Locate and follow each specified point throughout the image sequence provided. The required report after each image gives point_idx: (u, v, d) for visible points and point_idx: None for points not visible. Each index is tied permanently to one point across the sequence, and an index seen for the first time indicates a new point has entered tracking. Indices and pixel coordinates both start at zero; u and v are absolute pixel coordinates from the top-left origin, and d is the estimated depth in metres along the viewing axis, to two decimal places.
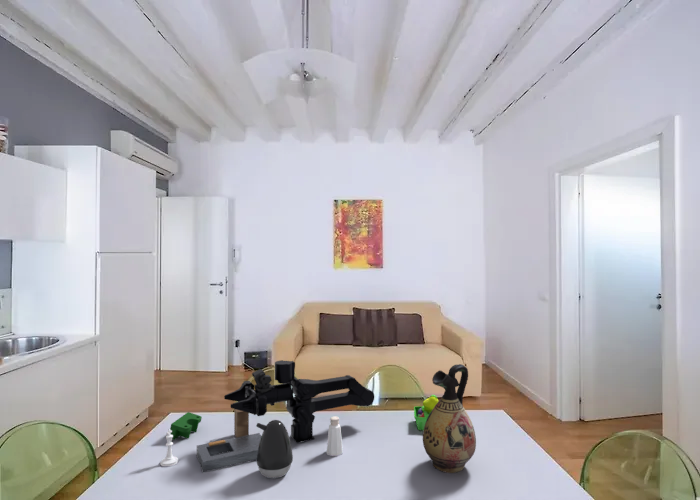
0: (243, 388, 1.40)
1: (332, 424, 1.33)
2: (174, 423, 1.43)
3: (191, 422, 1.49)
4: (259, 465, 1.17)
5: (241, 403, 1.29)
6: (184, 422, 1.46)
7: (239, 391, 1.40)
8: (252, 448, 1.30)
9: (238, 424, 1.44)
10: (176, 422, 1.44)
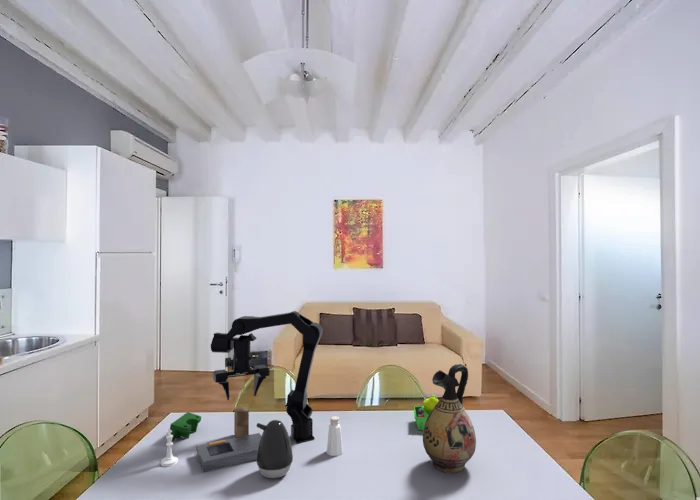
0: (254, 376, 1.51)
1: (332, 424, 1.33)
2: (174, 423, 1.43)
3: (191, 422, 1.49)
4: (259, 465, 1.17)
5: None
6: (183, 422, 1.46)
7: (254, 381, 1.50)
8: (252, 448, 1.30)
9: (238, 424, 1.44)
10: (176, 422, 1.44)
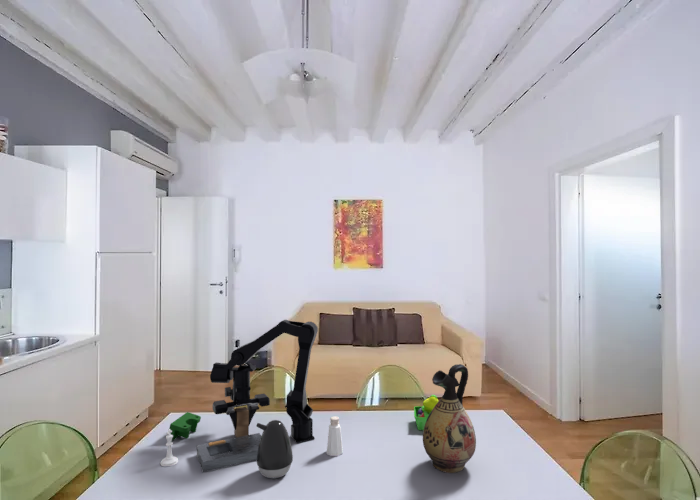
0: (247, 407, 1.50)
1: (332, 424, 1.33)
2: (173, 423, 1.43)
3: (190, 422, 1.49)
4: (259, 465, 1.17)
5: None
6: (183, 422, 1.46)
7: None
8: (252, 448, 1.30)
9: (238, 424, 1.44)
10: (175, 422, 1.44)
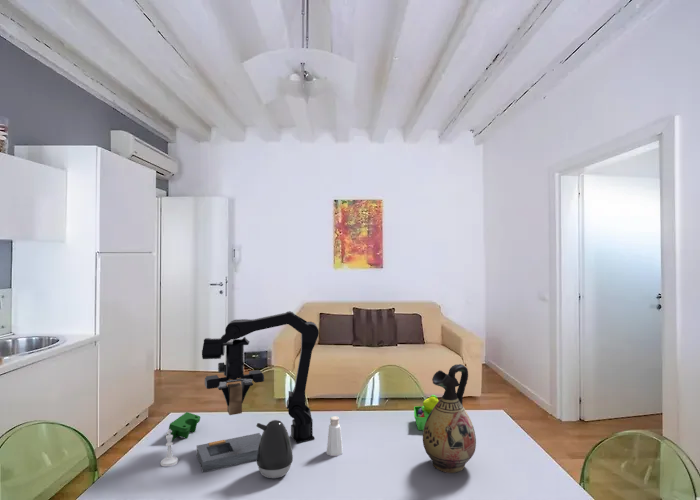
0: (241, 383, 1.44)
1: (332, 424, 1.33)
2: (173, 423, 1.43)
3: (190, 422, 1.49)
4: (259, 465, 1.17)
5: (224, 396, 1.40)
6: (182, 422, 1.46)
7: None
8: (252, 448, 1.30)
9: (231, 400, 1.39)
10: (175, 422, 1.44)
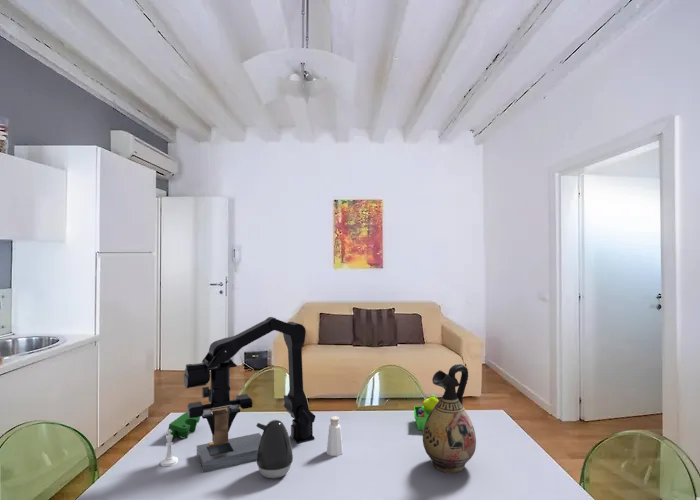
0: (227, 409, 1.33)
1: (332, 424, 1.33)
2: (172, 423, 1.43)
3: (189, 422, 1.49)
4: (259, 465, 1.17)
5: None
6: (182, 422, 1.46)
7: None
8: (252, 448, 1.30)
9: (216, 429, 1.27)
10: (174, 422, 1.44)
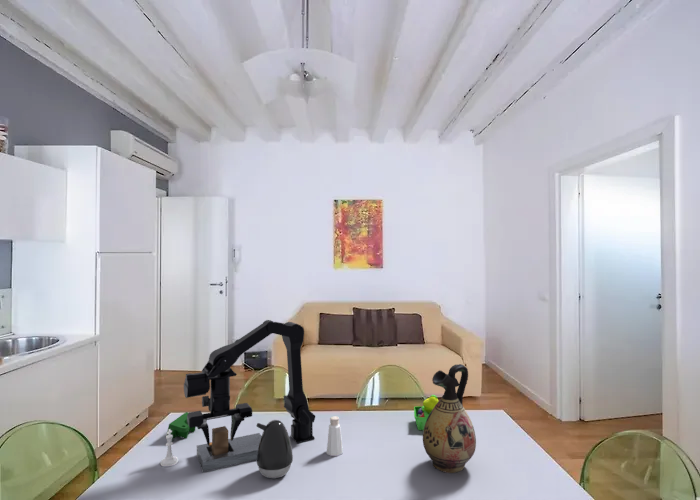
0: (231, 417, 1.33)
1: (332, 424, 1.33)
2: (172, 423, 1.43)
3: None
4: (259, 465, 1.17)
5: (204, 434, 1.28)
6: (182, 422, 1.46)
7: (231, 422, 1.32)
8: (252, 448, 1.30)
9: (216, 446, 1.27)
10: (174, 422, 1.44)
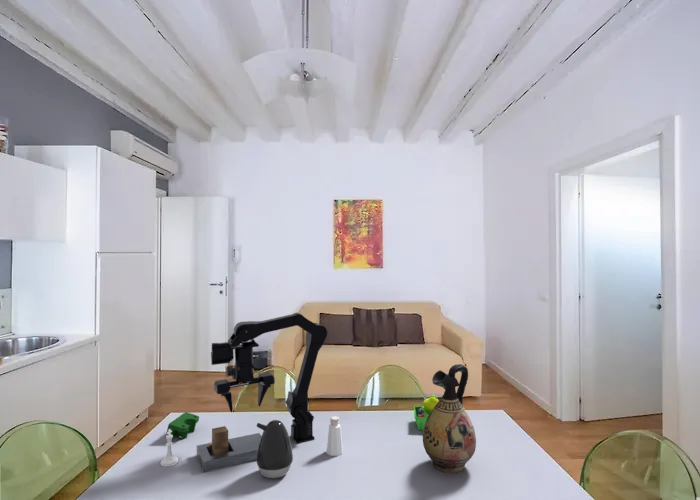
0: (258, 385, 1.42)
1: (332, 424, 1.33)
2: (171, 423, 1.43)
3: (189, 422, 1.49)
4: (259, 465, 1.17)
5: (227, 402, 1.35)
6: (181, 422, 1.46)
7: (258, 390, 1.41)
8: (252, 448, 1.30)
9: (216, 446, 1.27)
10: (173, 422, 1.44)
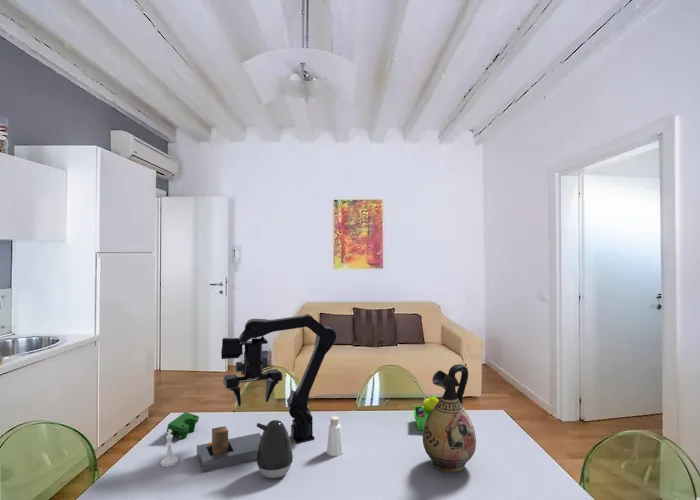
0: (266, 381, 1.45)
1: (332, 424, 1.33)
2: (171, 423, 1.43)
3: (188, 422, 1.49)
4: (259, 465, 1.17)
5: None
6: (181, 421, 1.46)
7: (266, 386, 1.44)
8: (252, 448, 1.30)
9: (216, 446, 1.27)
10: (173, 422, 1.44)
